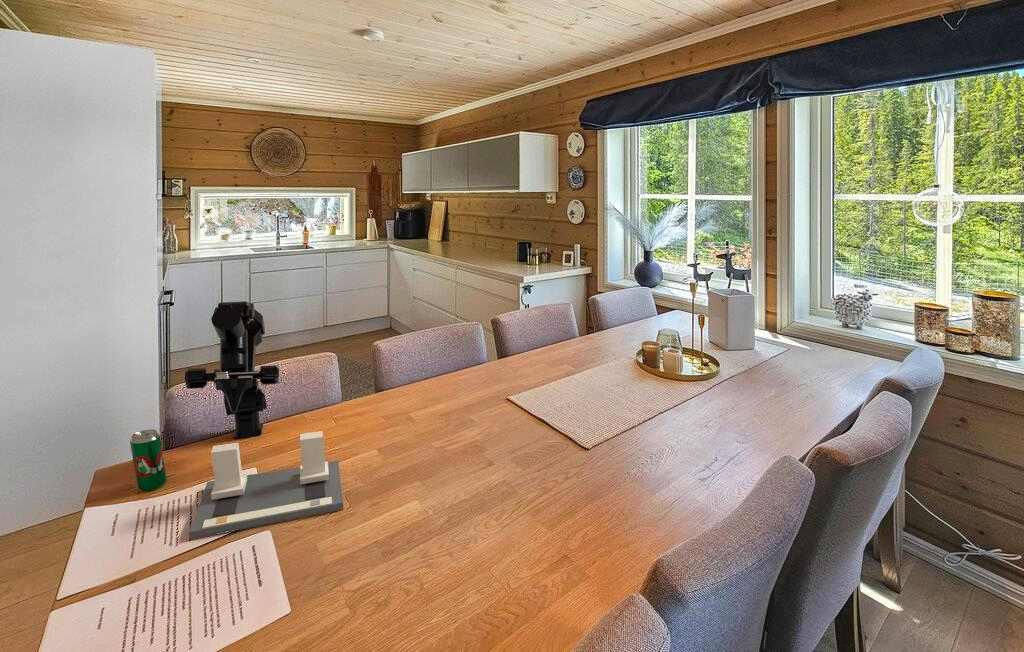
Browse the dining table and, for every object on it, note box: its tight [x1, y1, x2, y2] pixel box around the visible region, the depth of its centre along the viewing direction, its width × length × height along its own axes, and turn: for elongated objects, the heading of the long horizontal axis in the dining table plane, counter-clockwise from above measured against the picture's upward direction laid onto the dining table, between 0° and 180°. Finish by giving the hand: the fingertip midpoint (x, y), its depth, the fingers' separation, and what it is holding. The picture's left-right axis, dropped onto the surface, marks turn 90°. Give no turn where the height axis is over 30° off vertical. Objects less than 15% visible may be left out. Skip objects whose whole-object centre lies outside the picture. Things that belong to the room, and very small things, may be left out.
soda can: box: [129, 429, 168, 492], centre depth 103 cm, size 5×5×12 cm
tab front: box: [210, 442, 248, 500], centre depth 99 cm, size 6×6×9 cm
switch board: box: [188, 460, 344, 540], centre depth 101 cm, size 18×26×2 cm
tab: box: [299, 430, 329, 484], centre depth 105 cm, size 6×6×9 cm
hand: (233, 412), depth 111 cm, fingers closed
